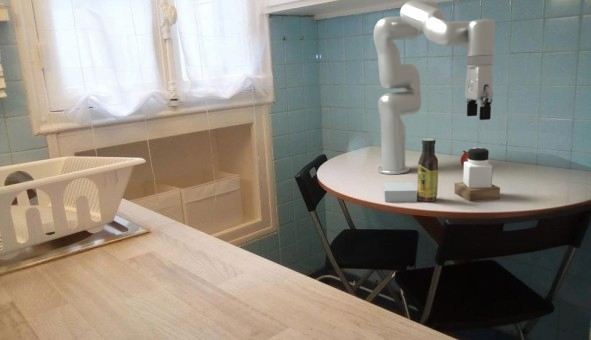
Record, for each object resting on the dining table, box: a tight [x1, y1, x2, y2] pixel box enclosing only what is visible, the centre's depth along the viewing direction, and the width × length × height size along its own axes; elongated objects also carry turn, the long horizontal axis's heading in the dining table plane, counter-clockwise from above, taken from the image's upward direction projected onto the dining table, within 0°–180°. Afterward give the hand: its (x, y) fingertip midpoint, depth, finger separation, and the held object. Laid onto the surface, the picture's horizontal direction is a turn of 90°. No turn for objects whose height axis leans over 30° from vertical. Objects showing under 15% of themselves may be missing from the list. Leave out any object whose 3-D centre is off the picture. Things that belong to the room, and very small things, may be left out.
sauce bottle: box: [416, 137, 439, 203], centre depth 150 cm, size 7×6×20 cm
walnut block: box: [454, 181, 501, 203], centre depth 153 cm, size 10×10×4 cm
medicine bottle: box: [462, 147, 493, 188], centre depth 151 cm, size 7×7×12 cm
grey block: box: [383, 182, 418, 203], centre depth 156 cm, size 10×10×4 cm
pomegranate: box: [460, 150, 469, 167], centre depth 191 cm, size 7×7×10 cm
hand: (478, 117), depth 148 cm, fingers open, 9 cm apart
